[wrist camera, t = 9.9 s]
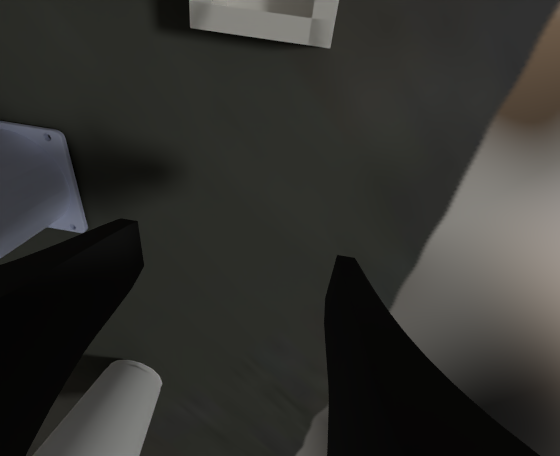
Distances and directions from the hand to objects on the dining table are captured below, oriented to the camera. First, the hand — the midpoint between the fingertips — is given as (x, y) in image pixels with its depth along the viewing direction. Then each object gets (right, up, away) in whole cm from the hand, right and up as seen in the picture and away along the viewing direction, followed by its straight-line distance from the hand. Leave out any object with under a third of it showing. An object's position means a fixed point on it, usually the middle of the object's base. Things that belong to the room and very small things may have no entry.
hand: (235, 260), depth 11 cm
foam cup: (-15, -16, +24) cm, 33 cm away
